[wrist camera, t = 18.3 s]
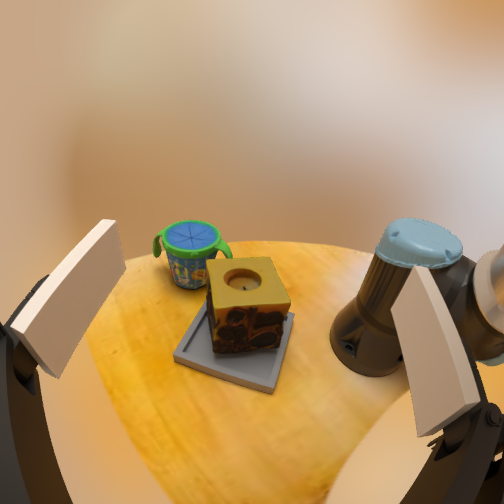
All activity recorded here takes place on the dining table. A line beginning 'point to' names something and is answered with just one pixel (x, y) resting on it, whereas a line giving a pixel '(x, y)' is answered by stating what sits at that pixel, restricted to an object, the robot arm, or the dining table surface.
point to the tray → (231, 356)
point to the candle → (245, 304)
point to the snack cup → (190, 250)
